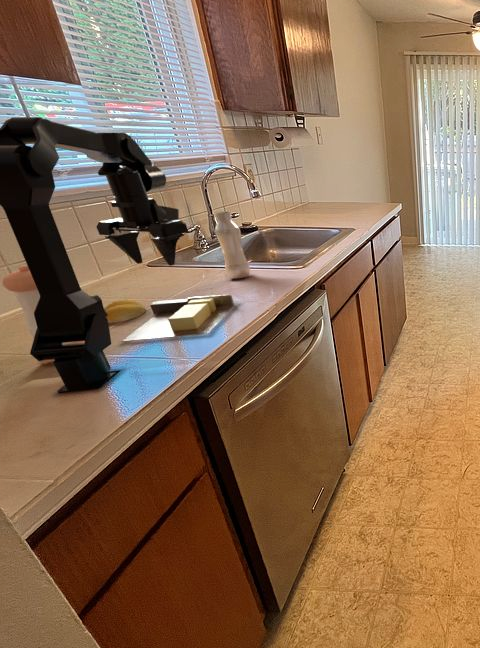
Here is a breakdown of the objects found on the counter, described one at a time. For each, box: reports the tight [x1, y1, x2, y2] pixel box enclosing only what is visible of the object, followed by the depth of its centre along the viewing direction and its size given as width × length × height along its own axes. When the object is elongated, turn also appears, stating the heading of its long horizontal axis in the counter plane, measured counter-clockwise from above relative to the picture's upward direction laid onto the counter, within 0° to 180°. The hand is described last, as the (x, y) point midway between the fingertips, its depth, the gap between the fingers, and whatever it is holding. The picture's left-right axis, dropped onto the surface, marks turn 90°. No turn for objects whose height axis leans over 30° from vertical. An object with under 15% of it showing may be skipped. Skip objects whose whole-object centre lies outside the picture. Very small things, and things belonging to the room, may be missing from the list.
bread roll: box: [104, 299, 147, 324], centre depth 97 cm, size 8×9×4 cm
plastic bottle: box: [214, 211, 251, 279], centre depth 121 cm, size 6×7×20 cm
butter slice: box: [188, 298, 216, 312], centre depth 98 cm, size 2×5×3 cm, turn 102°
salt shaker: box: [2, 264, 85, 365], centre depth 77 cm, size 7×7×19 cm
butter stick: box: [168, 303, 211, 331], centre depth 93 cm, size 8×5×3 cm, turn 11°
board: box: [122, 301, 237, 342], centre depth 95 cm, size 18×17×1 cm
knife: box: [149, 293, 235, 314], centre depth 100 cm, size 18×2×3 cm, turn 101°
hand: (155, 264), depth 93 cm, fingers open, 9 cm apart
